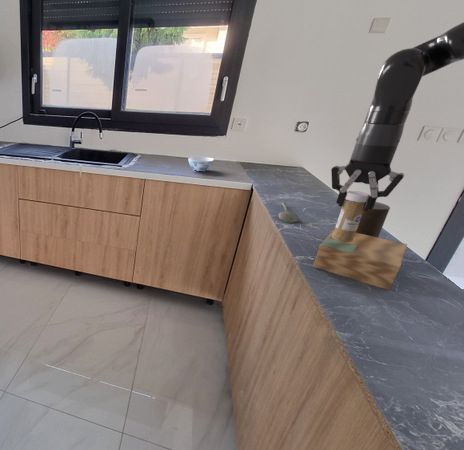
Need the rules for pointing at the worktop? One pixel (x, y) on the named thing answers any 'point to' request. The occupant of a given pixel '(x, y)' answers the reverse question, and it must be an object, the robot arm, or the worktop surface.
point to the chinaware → (200, 163)
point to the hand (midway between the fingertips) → (353, 207)
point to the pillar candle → (373, 220)
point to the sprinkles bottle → (350, 216)
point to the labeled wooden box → (362, 259)
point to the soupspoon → (288, 215)
